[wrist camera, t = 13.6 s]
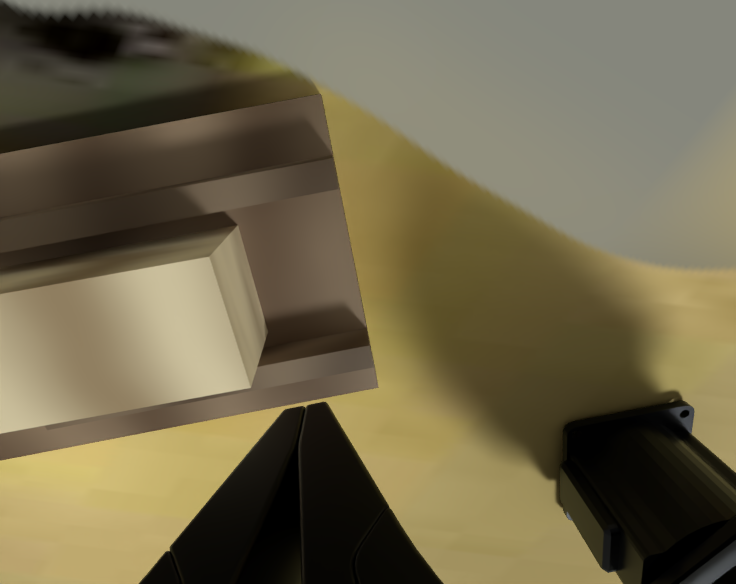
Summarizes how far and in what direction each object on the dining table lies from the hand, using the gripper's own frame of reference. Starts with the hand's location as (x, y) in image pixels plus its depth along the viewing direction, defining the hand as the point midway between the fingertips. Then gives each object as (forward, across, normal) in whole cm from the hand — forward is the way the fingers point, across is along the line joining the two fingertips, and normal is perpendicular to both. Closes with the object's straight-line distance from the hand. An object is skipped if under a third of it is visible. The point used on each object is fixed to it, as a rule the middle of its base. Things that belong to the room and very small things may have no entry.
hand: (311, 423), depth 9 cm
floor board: (+10, +8, 0) cm, 13 cm away
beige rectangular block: (+9, +7, 0) cm, 12 cm away
